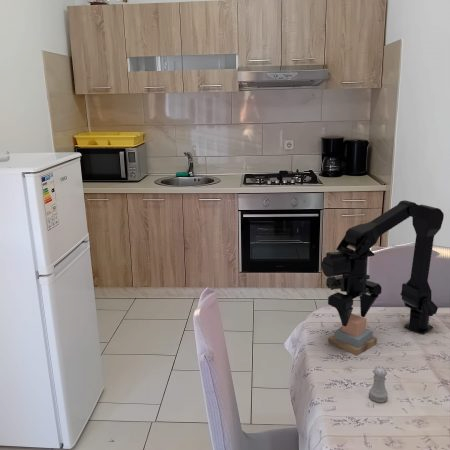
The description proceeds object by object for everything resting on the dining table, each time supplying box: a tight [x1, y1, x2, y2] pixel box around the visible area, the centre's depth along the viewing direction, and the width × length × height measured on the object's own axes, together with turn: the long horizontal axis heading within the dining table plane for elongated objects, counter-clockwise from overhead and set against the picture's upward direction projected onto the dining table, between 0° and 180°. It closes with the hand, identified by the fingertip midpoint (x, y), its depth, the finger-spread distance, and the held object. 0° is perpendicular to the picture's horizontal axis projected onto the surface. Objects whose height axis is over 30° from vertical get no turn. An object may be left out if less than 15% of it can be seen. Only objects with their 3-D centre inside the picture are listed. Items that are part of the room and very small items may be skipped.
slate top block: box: [333, 326, 373, 348], centre depth 140 cm, size 8×8×2 cm
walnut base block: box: [328, 334, 378, 357], centre depth 140 cm, size 10×10×2 cm
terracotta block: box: [341, 313, 367, 337], centre depth 139 cm, size 5×5×4 cm
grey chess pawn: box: [368, 365, 389, 404], centre depth 114 cm, size 4×4×8 cm
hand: (353, 321), depth 139 cm, fingers open, 9 cm apart
